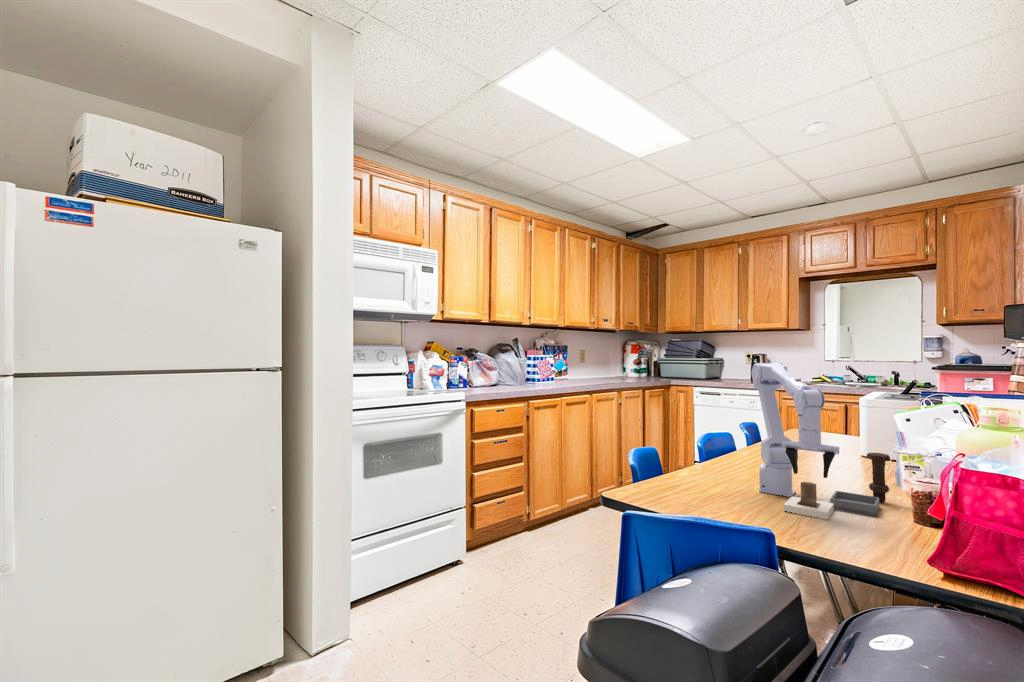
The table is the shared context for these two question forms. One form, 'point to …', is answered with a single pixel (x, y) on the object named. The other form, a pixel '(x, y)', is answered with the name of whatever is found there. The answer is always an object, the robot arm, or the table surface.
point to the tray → (855, 503)
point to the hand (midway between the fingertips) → (810, 475)
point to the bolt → (878, 475)
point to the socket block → (809, 508)
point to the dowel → (808, 494)
